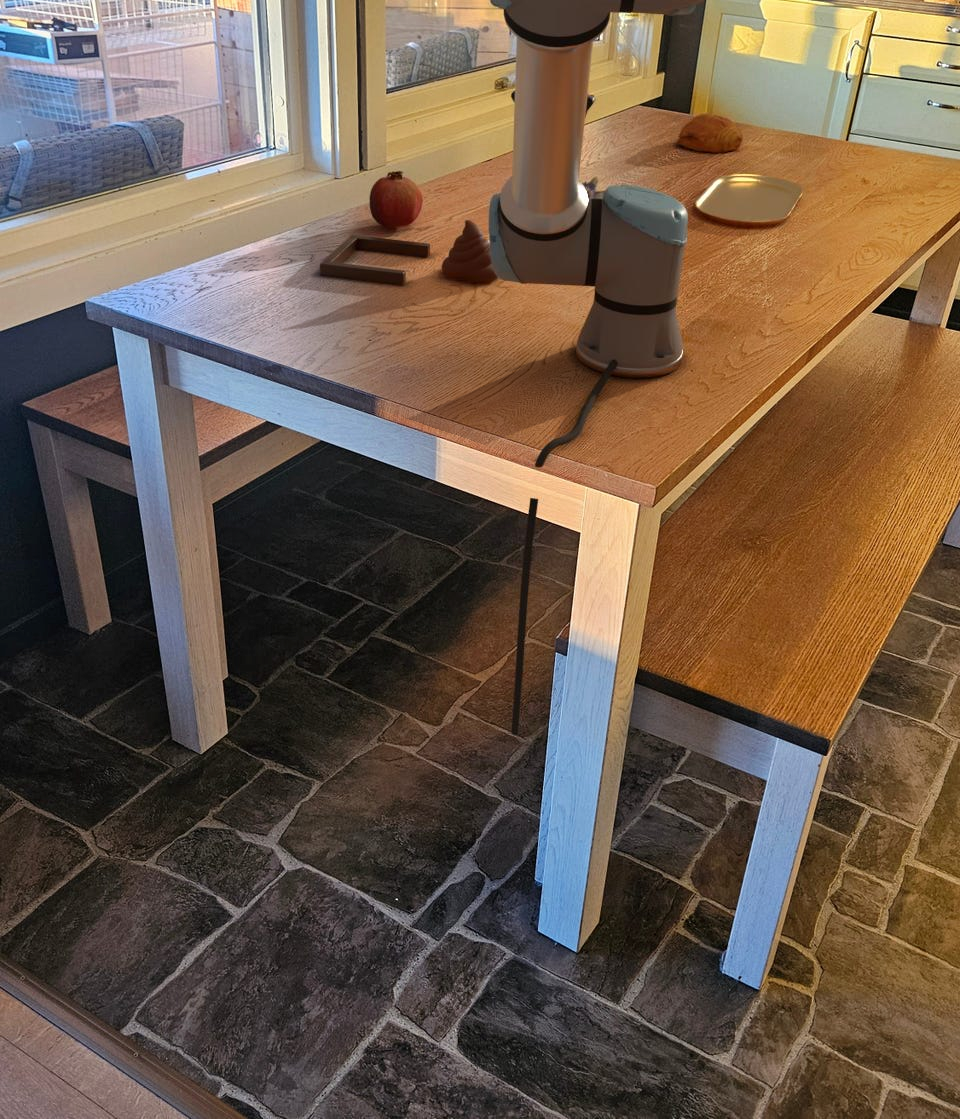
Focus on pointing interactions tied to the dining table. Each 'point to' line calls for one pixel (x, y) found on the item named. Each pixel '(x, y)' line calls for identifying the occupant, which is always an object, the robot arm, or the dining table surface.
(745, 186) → the serving platter
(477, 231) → the poop emoji
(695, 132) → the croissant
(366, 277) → the dark brown u-shaped frame
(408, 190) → the fruit
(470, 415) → the dining table surface
